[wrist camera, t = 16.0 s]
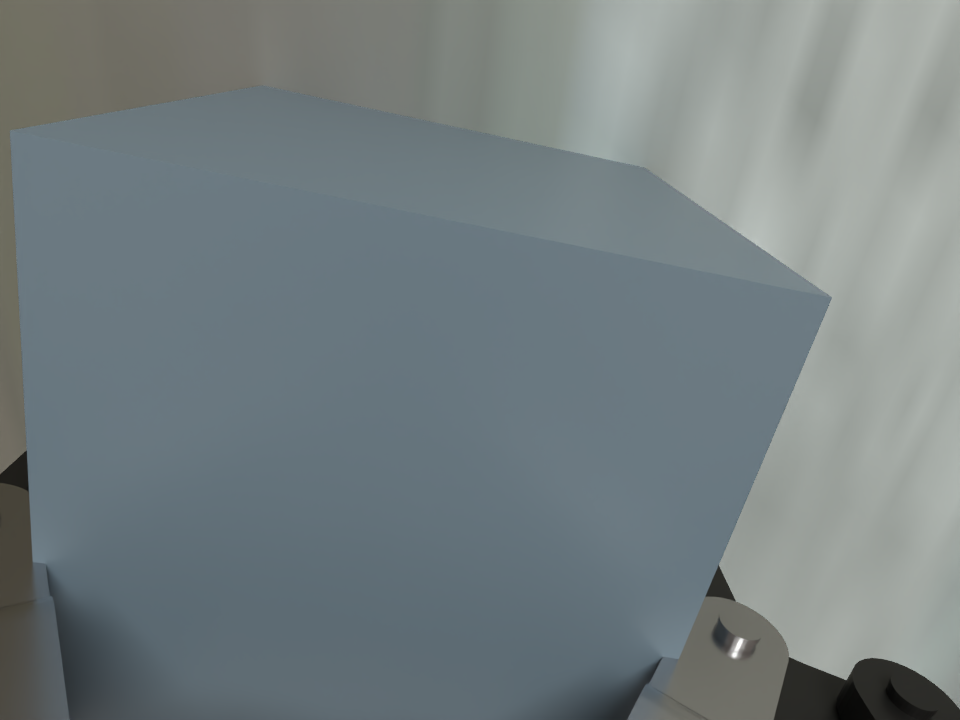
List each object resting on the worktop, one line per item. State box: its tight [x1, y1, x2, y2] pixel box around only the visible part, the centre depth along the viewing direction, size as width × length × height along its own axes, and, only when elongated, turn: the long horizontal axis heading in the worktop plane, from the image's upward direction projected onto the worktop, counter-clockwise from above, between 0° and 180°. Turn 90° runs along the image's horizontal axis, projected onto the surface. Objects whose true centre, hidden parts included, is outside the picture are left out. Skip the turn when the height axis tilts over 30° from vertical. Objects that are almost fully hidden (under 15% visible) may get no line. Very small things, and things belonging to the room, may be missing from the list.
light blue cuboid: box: [10, 86, 832, 720], centre depth 11 cm, size 7×11×7 cm, turn 168°
